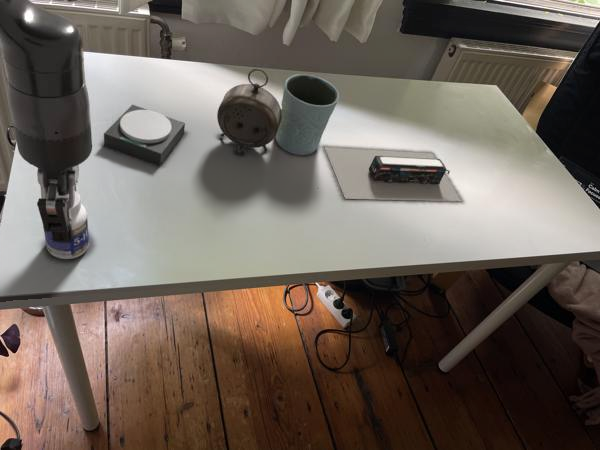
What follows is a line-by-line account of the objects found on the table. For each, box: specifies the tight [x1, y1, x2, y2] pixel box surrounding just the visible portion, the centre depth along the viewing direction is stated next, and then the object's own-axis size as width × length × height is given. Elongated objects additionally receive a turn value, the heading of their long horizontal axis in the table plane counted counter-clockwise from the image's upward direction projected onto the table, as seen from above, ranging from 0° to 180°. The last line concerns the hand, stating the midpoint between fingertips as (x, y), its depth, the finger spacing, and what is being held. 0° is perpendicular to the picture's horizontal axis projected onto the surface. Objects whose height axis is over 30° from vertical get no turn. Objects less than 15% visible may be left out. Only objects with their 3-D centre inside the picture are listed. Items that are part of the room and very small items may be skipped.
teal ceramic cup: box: [275, 73, 340, 156], centre depth 92 cm, size 10×10×12 cm
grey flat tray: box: [324, 147, 462, 202], centre depth 95 cm, size 14×25×4 cm, turn 103°
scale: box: [103, 104, 186, 165], centre depth 85 cm, size 10×10×3 cm
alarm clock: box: [216, 67, 282, 154], centre depth 85 cm, size 11×5×16 cm, turn 80°
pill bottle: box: [42, 190, 90, 260], centre depth 64 cm, size 5×5×9 cm
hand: (65, 222), depth 64 cm, fingers closed on pill bottle, 5 cm apart
